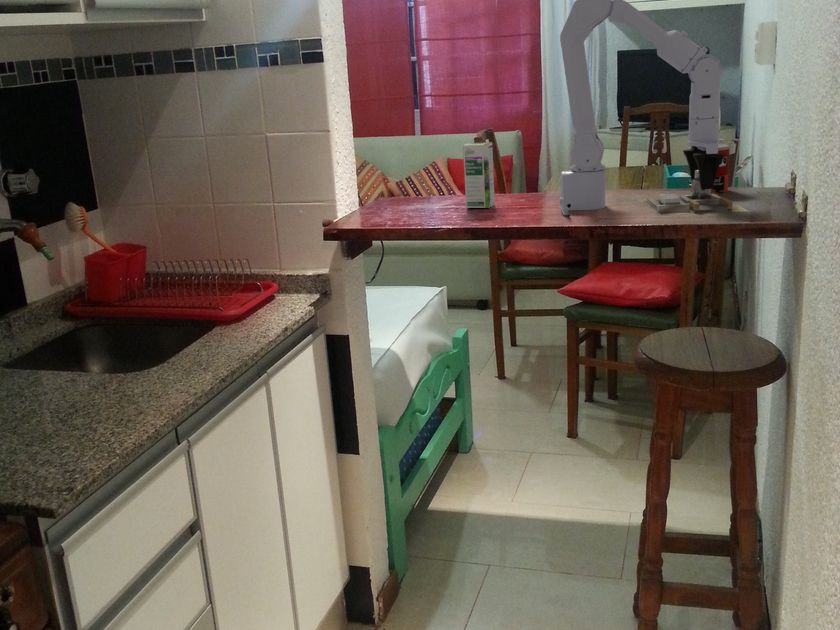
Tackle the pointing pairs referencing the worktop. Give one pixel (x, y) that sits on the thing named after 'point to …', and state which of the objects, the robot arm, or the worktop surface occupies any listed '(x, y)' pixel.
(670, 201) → the gray rectangular block
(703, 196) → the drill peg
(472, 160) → the syrup box
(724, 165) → the canned food
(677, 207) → the socket board
